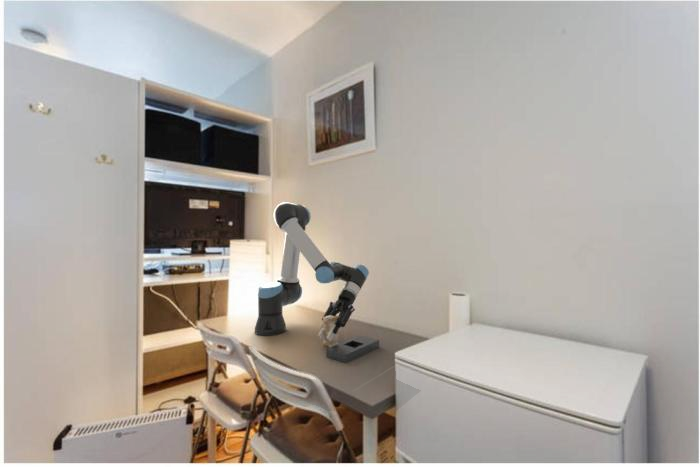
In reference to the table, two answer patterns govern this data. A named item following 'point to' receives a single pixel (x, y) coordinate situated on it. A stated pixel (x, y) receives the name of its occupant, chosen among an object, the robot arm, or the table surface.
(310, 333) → the table surface
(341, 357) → the grey block with hole
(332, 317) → the peg
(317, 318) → the table surface
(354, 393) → the table surface
